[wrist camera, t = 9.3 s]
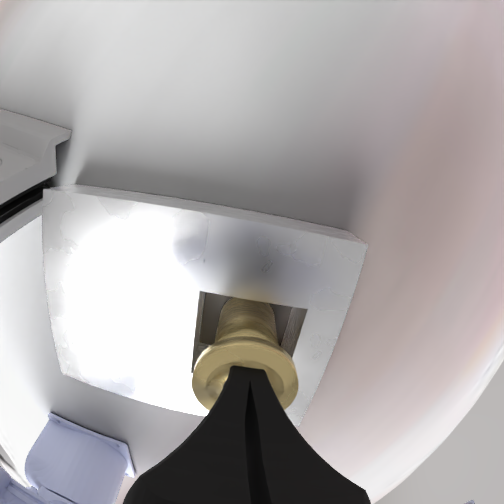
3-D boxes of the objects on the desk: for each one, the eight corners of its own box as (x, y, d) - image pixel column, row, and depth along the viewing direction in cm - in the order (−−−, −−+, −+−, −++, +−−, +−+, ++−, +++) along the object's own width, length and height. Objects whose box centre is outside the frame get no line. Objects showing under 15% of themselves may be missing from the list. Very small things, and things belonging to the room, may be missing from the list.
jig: (80, 350, 17) (61, 373, 14) (73, 184, 14) (43, 189, 11) (293, 395, 18) (298, 426, 15) (347, 230, 15) (368, 244, 12)
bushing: (206, 343, 17) (189, 414, 11) (213, 279, 16) (193, 340, 10) (276, 353, 17) (285, 425, 11) (291, 290, 16) (311, 355, 10)
